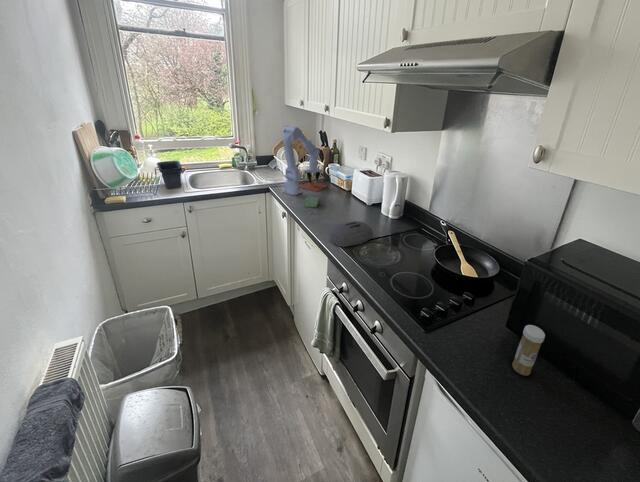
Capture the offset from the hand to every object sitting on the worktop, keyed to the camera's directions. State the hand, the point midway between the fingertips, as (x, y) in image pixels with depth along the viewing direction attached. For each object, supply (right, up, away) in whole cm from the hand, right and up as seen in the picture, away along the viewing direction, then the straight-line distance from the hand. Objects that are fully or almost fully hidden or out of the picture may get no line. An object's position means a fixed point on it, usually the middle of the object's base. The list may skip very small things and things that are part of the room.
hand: (313, 182), depth 214 cm
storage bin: (-96, -3, -11) cm, 96 cm away
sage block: (+2, -16, -31) cm, 35 cm away
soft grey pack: (+25, -33, -70) cm, 81 cm away
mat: (0, -3, +1) cm, 3 cm away
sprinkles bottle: (+70, -59, -133) cm, 162 cm away
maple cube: (0, -1, 0) cm, 1 cm away
